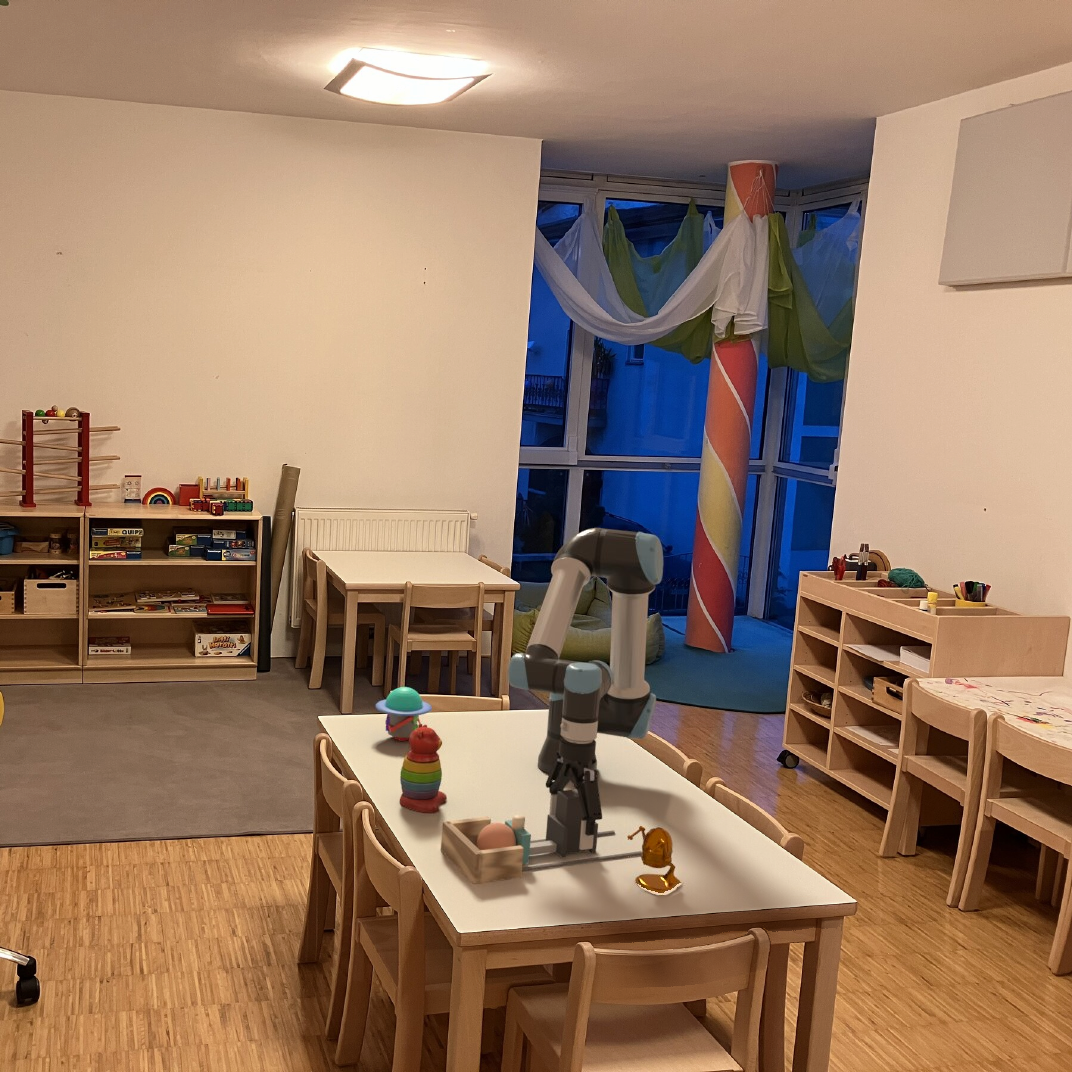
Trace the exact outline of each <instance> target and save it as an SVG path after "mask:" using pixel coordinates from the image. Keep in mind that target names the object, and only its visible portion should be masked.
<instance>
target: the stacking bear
mask: <svg viewBox="0 0 1072 1072" xmlns="http://www.w3.org/2000/svg"><path fill="white" fill-rule="evenodd" d="M408 742H409V748H410V750H409V751H408V752H407V753H406V755H405V756H404V758H403V762H402V766H401V769H400V777H399V778H400V779H399V780H400V785H401V792H402V793H401V795H400V797H399V803H400V805H401V806H402V807H405V808H406V809H409V810H413V811H416V812H421V813H426V814H434V813H437V812H439V809H440V808H439V804H442V803H446V802H447V799H448V797H447V794H446V793H444V792H442V791H440V786H441V784H442V777H443V772H442V767H441V766H442V765H441V764H442V763H441V760H440V755H439V753H438V751H439V750H440V748H441V747H442V746H443V741H442V739H441V738H440V736H439V735H438V734H437V731H435V730H434V729H433V728H431V727H428V725H427V724H424V725H423V724H422V727H420V728H417V729H415V730H414V731H413V732H412V733H411V735H410V737H409V738H408Z"/></svg>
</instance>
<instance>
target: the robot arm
mask: <svg viewBox="0 0 1072 1072" xmlns="http://www.w3.org/2000/svg"><path fill="white" fill-rule="evenodd" d="M663 553H664V552H663V547H662V543H661V540H660V538H659V537H658V536H657V535H655V534H651V533H644V532H642V531H638V532H637V531H628V530H619V529H609V528H603V527H602V528H601V527H594V528H593V527H592V528H588V529H585V530H582V531H581V532H579V533H577V534H575V535H573V536H572V537H571V538H570V539H568V540H567V541H566V542H565V543H564V544H563V545H562V546H561V547H560V549H559V550H558V552H557V553H556V555H555V557H554V558H553V562H552V565H551V567H550V571H551V574H552V575H551V576H552V577H551V580H550V583H549V585H548V588H547V591H546V594H545V597H544V599H543V602H542V605H541V608H540V610H539V613H538V616H537V619H536V621H535V624H534V628H533V630H532V632H531V636H530V638H529V641H528V644H527V646H526V649H525V653H514V654H513V655H512V657H510V661H509V663H508V671H507V679H508V682H509V685H510V686H511V687H513V688H517V689H521V690H525V691H528V692H529V691H533V692H542V693H548V694H549V697H548V701H549V703H548V715H547V717H548V718H547V731H546V737H545V739H544V742H543V744H542V746H541V749H540V752H539V754H538V757H537V767H538V768H539V769H540V771H543V772H544V773H547V774H548V777H547V779H546V781H545V787H546V788H547V789H549V793H550V802H549V813H548V815H549V814H552V815H554V816H555V814H556V801H557V791H564V789H565V788H566V787H567V785H568V784H569V782H571V783H572V784H573V787H574V789H577V791H578V795H579V799H580V803H581V806H582V810H583V814H584V817H583V818H582V822H581V834H580V846H579V849H580V850H585V849H593V837H594V830H595V829H594V828H595V822H596V821H601V820H603V812H602V804H601V798H600V792H599V791H600V789H599V784H598V770H597V768H598V760H597V756H596V755H597V754H596V747H597V745H596V744H597V741H596V739H597V738H598V734H601V735H602V734H603V735H608V736H616V737H620V738H621V737H622V738H626V739H637V740H643V739H644V738H645V737H646V736H647V735H648V732H649V731H650V727H651V723H652V720H653V716H654V711H655V706H656V703H657V695H656V694H654V693H652V692H651V691H650V690H651V687H650V684H649V683H648V681H647V680H645V667H646V649H647V648H646V646H647V643H646V642H647V629H648V627H647V626H648V625H647V624H648V609H649V595H650V594H651V593H652V592H654V591H655V589H656V585H658V584H660V583H661V582H662V579H663V573H664V554H663ZM592 577H598V578H603V579H604V578H605V579H606V587H607V589H608V590H609V591H611V593H612V605H611V606H612V607H611V632H610V656H609V657H610V661H609V665H608V664H607V663H606V662H604V661H601V660H599V659H598V660H597V659H596V660H595V659H594V660H589V661H588V662H582V661H574V660H567V659H561V658H560V656H561V653H562V651H563V647H564V644H565V642H566V639H567V635H568V632H569V630H570V627H571V624H572V620H573V618H574V614H575V612H576V608H577V605H578V603H579V600H580V596H581V594H582V590H583V588H584V586H585V585H587V584H588V583H589V582H590V580H591V578H592ZM650 692H651V693H650ZM588 813H589V814H588Z"/></svg>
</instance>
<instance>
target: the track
mask: <svg viewBox="0 0 1072 1072" xmlns="http://www.w3.org/2000/svg"><path fill="white" fill-rule="evenodd" d="M609 835H616V831H614V830H605V831H600V832H599V831H598V833H597V837H601V836H609ZM543 841H546V838H544V839H543V838H542V839H537V840H534V839H533V840H531V841H530V843H535V842H543ZM641 854H642V850H639V851H632V852H625V853H619V854H611V855H602V856H595V857H588V858H582V859H581V858H580V859H574V860H567V861H566V860H565V861H560V862H552V863H544V864H538V865H530V866H524V867H523V866H522V873H523V872H529V871H536V870H537V871H538V870H543V869H544V870H545V869H550V868H551V869H552V868H558V867H565V866H573V865H581V864H586V863H587V864H588V863H594V862H601V861H609V860H615V859H624V858H630V856H631V857H637V855H638V856H641ZM628 856H629V857H628Z"/></svg>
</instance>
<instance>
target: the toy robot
mask: <svg viewBox="0 0 1072 1072" xmlns="http://www.w3.org/2000/svg"><path fill="white" fill-rule="evenodd" d="M375 709H376V710H378V711H380V712H381V713H385V714H386V719H385V731H386V732H387V733H388V734H387V735H389V736H392V737H393V738H394V737H395V738H394V739H395V740H396V741H402V742H405V741H409V738H410V735H411V733H412V732H413V731H414V730H415V729H417V728H420V727H422V726H423V723H421V720H420V717H419V716H422V715H425V714H428V713H430V712H431V711H432V710H433V707H432V706H431V704H430V703H429V702H427V701H426V702H425V701H423V699H422V697H421V695H420V693H418V691H416V690H415V689H413V688H411V687H407V686H401V687H398V688H395V689H393V690H392V691H391V692H390V693H389V694H388V695H387V697H386V699H383V700H379V701H378V702H376V703H375Z"/></svg>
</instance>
